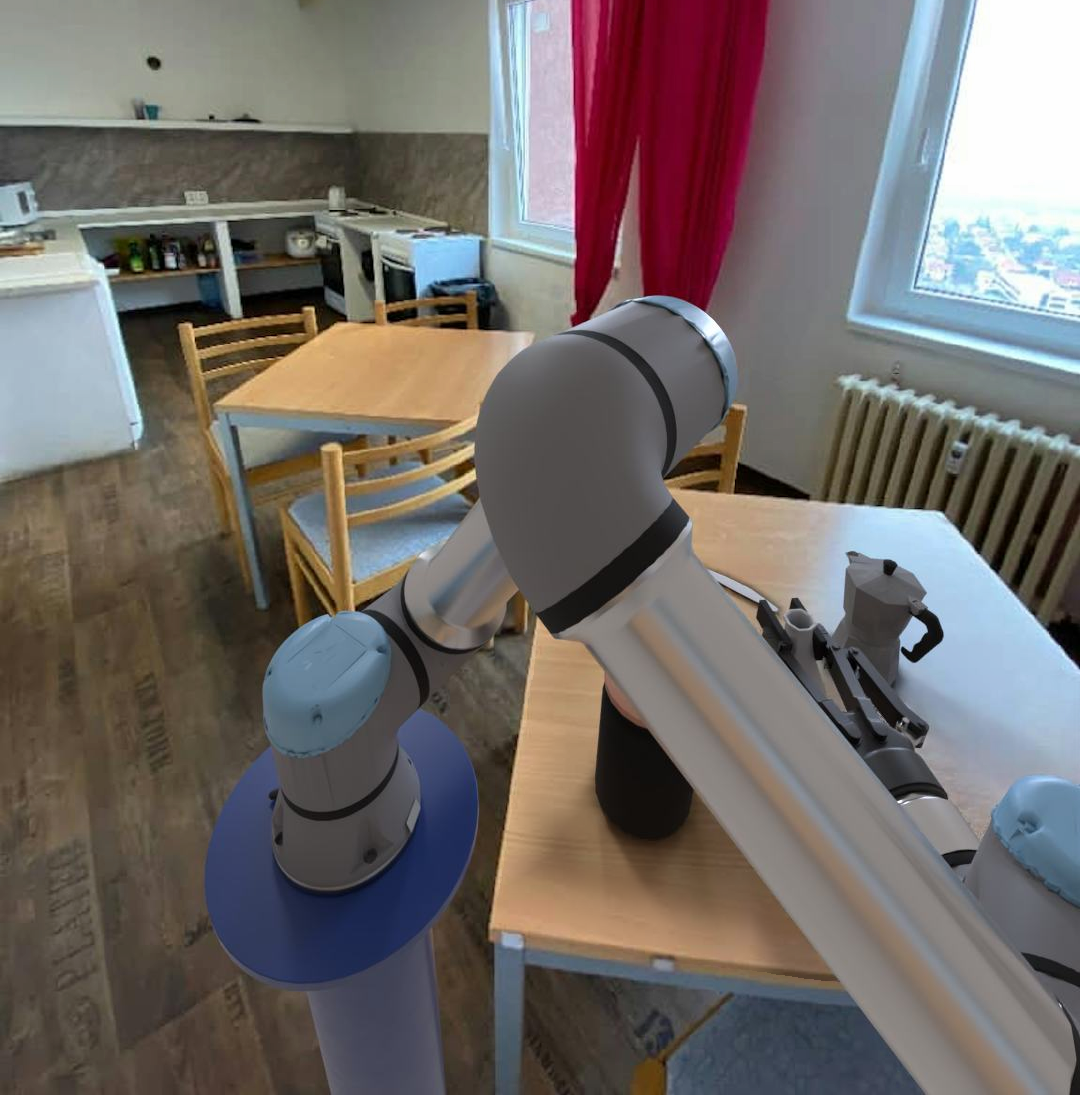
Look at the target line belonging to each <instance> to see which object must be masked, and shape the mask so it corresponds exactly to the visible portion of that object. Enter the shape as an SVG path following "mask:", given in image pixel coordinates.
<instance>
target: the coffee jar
mask: <svg viewBox="0 0 1080 1095" xmlns="http://www.w3.org/2000/svg"><path fill="white" fill-rule="evenodd" d="M603 672H604V671H603ZM603 674H604V682H603V685H602V689H601V690H602V691H601V703H600V713H599V724H598V725H599V726H598V737H597V747H596V749H597V750H596V760H595V761H596V762H595V772H594V790H595V791H594V792H595V794H596V798H597V800H598V804H599V807H600V808H601V810H602V811H603V813H604V814H605V816H606V817H607V819H608V820H609V822H610V823H611V824H613V826H615V827H616V828H617V829H619V830H620V831H621V832H622V833H623V834H625V835H627V836H630V837H633V838H635V839H638V840H643V841H658V840H662V839H665V838H668V837H670V836H672V835H673V834H675V833H676V832H677V831H678V830H679V829H681V828H682V827H683V825H684V824H685V822H686V820H687V819H688V817H689V815H690V813H691V808H692V807H691V806H692V802H693V796H694V792H695V790H694V789H693V788H692V786H691V785H690V784H689V782H688V781H687V780H686V779H685V777H684V776H683V775H682V773H681V772H680V771H679V769H678V768H677V767H676V765H675V764H674V763H673V761H672V760H671V759H670V757H669V756H668V755H667V754H666V752H665V751H664V750H663V748H662V747H661V746H660V744H659V743H658V742H657V740H656V739H655V738H654V736H653V735H652V734H651V732H650V731H649V730H648V729H647V727H646V726H645V725H644V723H643V722H642V721H641V719H640V718H639V717H638V715H637V714H636V713H635V711H634V710H633V709H632V707H631V706H630V705H629V704H628V702H627V701H626V700H625V698H624V697H623V696H622V694H621V693H620V692H619V690H618V689H617V688H616V686H615V685H614V684H613V682H612V681H611V680H610V679H609V677H608V676H607V675H606V673H605V672H604V673H603Z"/></svg>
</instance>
